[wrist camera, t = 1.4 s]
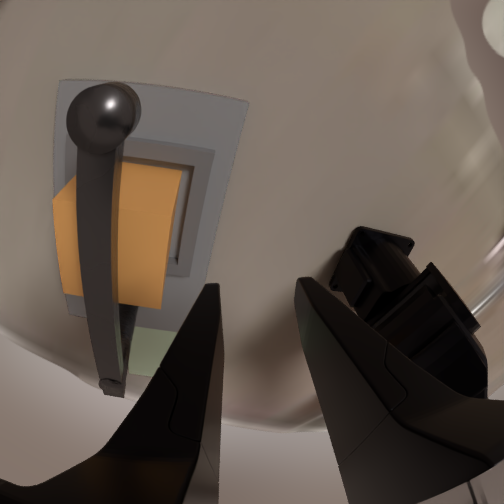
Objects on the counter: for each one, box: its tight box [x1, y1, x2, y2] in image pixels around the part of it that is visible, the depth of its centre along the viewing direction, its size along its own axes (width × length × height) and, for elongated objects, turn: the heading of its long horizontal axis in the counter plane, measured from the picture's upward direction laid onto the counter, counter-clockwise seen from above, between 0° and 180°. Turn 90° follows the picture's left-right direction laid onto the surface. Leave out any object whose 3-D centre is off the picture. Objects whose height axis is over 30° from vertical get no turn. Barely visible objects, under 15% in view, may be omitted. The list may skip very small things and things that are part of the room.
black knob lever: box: [66, 82, 141, 398], centre depth 16 cm, size 19×2×8 cm, turn 165°
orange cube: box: [53, 162, 182, 309], centre depth 17 cm, size 6×6×6 cm
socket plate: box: [54, 79, 249, 332], centre depth 20 cm, size 12×20×2 cm, turn 165°
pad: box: [128, 326, 177, 377], centre depth 30 cm, size 9×9×1 cm
